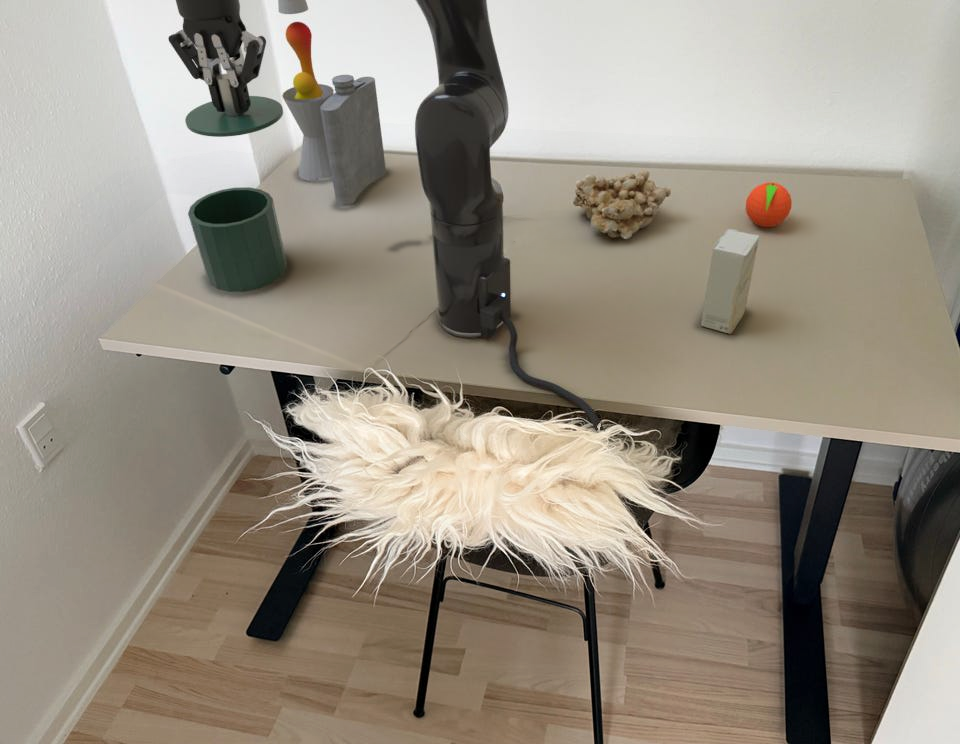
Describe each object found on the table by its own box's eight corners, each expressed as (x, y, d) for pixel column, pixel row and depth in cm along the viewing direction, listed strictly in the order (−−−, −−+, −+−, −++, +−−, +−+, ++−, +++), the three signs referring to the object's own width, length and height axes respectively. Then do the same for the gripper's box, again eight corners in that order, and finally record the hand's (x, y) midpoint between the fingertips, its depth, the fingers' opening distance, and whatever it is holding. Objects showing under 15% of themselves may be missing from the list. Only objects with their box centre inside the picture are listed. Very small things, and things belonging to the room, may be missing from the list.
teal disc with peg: (303, 114, 111) (295, 69, 107) (234, 148, 102) (223, 101, 98) (237, 98, 116) (227, 54, 112) (167, 129, 108) (153, 83, 104)
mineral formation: (567, 209, 135) (649, 191, 137) (596, 259, 127) (683, 238, 129) (568, 170, 129) (654, 150, 131) (599, 219, 120) (690, 198, 122)
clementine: (784, 241, 125) (793, 199, 120) (738, 234, 127) (746, 193, 122) (788, 217, 130) (798, 177, 126) (745, 211, 132) (752, 171, 128)
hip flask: (349, 209, 138) (331, 95, 126) (329, 206, 139) (309, 93, 127) (389, 171, 150) (376, 62, 137) (369, 168, 151) (355, 60, 138)
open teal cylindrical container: (303, 264, 125) (289, 198, 117) (247, 303, 117) (228, 234, 110) (249, 245, 130) (232, 180, 123) (191, 281, 122) (170, 214, 115)
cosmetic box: (730, 335, 106) (746, 257, 99) (698, 326, 108) (711, 248, 101) (745, 311, 110) (761, 234, 103) (714, 303, 112) (727, 226, 105)
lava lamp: (305, 161, 154) (267, -37, 132) (350, 161, 154) (320, -38, 131) (292, 181, 148) (250, -24, 125) (339, 182, 147) (306, -25, 124)
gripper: (134, -23, 96) (173, 117, 107) (234, -18, 93) (264, 126, 104) (170, -37, 102) (205, 97, 113) (266, -33, 98) (292, 105, 109)
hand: (233, 110), depth 108 cm, fingers closed on teal disc with peg, 2 cm apart
